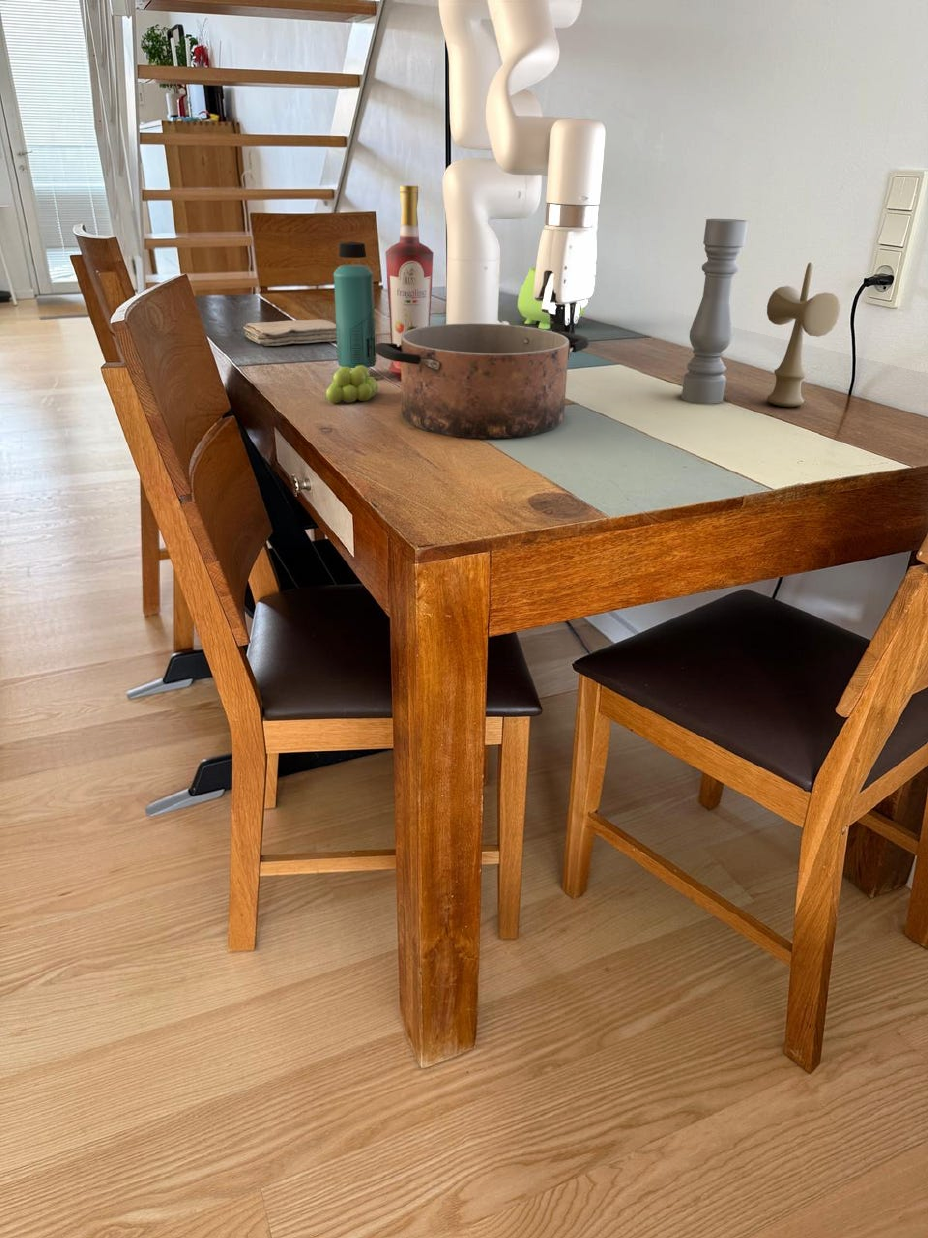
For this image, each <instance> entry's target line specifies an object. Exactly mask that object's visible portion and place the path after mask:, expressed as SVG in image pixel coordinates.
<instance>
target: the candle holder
mask: <svg viewBox="0 0 928 1238" xmlns="http://www.w3.org/2000/svg"><path fill="white" fill-rule="evenodd" d="M748 224H749V221H748V220H746V219H735V218H734V219H733V218H732V219H731V218H706V220H705V228H704V235H703V242H702V243H703V245H704V252H705V254H706V255H705V256H706V258H707V261H706V262H704V263H703V264H702V265H701V271H703V272H704V276H705V277H704V282H703V283H704V284H703V291H702V297H701V300H700V303H699V306H698V309H697V311H696V314H695V317H694V320H693V322H692V324H691V327H690V331H689V341H690V344H691V346H692V348H693V351H692V353H693V355H694V357H692V358H691V359H690V362H688V363H687V365H686V369H687V371H688V372H686V373H685V374H683V381H682V389H681V396H680V397H681V399H682V400H683V401H686V402H688V403H693V404H702V405H713V404H715V405H716V404H720V403H722V402H723V401H724V396H725V395H724V394H725V388H726V381H727V378H726V376H725V375H723V374H724V373H726V370H727V366H726V365H725V364H724V361H723V359H722V357H723V356H724V355H725V354H724V352H725V350H727V348H728V347H729V346H730V345H731V342H732V341H733V340H732V339H733V325H732V324H733V323H732V311H731V294H732V286H733V279H734V277H735V275H736V274H737V273H739V271H740V266H739V265H738V264H737V263H736V260H737V259H738V257H739V255H740V254H741V253H742V250H743V247H744V246H745V244H746V238H747V237H746V236H747V231H748Z"/></svg>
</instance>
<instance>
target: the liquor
mask: <svg viewBox="0 0 928 1238" xmlns="http://www.w3.org/2000/svg"><path fill="white" fill-rule="evenodd" d="M399 198H400V204H401V219H400V229H399V230H400V232H399V242H397V243H395V244H392V245H391V246H390V247H389V248H388V249H387V250H386V251H385V265H386V286H387V299H388V312H389V330H390V343H394V344H397V347H399V345H401V336H402V334H403V333H405V332H407V331H409V330H412V329H416V328H420V327H426V326H431V312H432V311H431V310H432V298H433V297H432V294H433V277H434V276H433V273H434V251H433V250H432V249H431V248H430V247H429V246H428V245H425V244H423V243H422V242H421V241H420V232H419V219H418V217H419V216H418V203H419V185H400V186H399ZM388 370H389V371H390V372H391V373H392V374H393V375H394V376H395V378H396V379H398V380H401V362H398V361H393V360H391V364H390V366H389V367H388Z"/></svg>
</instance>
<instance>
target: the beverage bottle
mask: <svg viewBox="0 0 928 1238" xmlns="http://www.w3.org/2000/svg"><path fill="white" fill-rule="evenodd" d="M338 257H339V258H346V259H360V258H361V259H363V258H367V252H366V244H365V243H364V242H359V241H345V242H344V241H343V242H340V243H339V251H338ZM332 275H333V282H334V283H333V287H334V307H335V309H334V310H335V321H334V324H336V329H335V330H336V336H337V341H335V343H336V344H335V346H336V347H335V349H336V353H335V354H336V358H337V359H336V361H337V363H338V366H339V367H340V368H341V367H344V366H346V367H349V368H351V369H354V368H355V367H356V366H359V365H362V366H365V367H366V368H367V369H369V368H373V367H375V366H376V364H377V361H378V357H377V355H378V354H377V353H376V352H375V348H376V345H377V344H378V343H377V342H378V341H376V328H377V326H376V324H377V321H376V312H375V311H376V307H375V299H376V297H375V290H374V286H375V285H374V272H373V271H372V270H371V268H369V266H367V265H365V264H341V265H339V266H338V267H337V268H336V269H335V270H334V272H333V274H332Z"/></svg>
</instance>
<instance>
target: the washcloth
mask: <svg viewBox="0 0 928 1238" xmlns="http://www.w3.org/2000/svg"><path fill="white" fill-rule="evenodd" d="M243 329H244V331H245V332H244V333H245V334H244V335H245V337H246V338H248V339H249V340H251V341H253V342H255V343H257V344H258V345H262V346H263V347H264V346H265V347H269V346H273V347H276V346H283V345H284V346H286V345H291V344H293V345H294V344H313V343H314V344H315V343H325V342H337V336H336V330H335V329H336V323H335V322H332V321H330V320H327V319H294V320H290V319H289V320H279V321H269V322H268V321H262V322H261V321H260V322H249V323H246V324H245V325H244V326H243Z"/></svg>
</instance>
